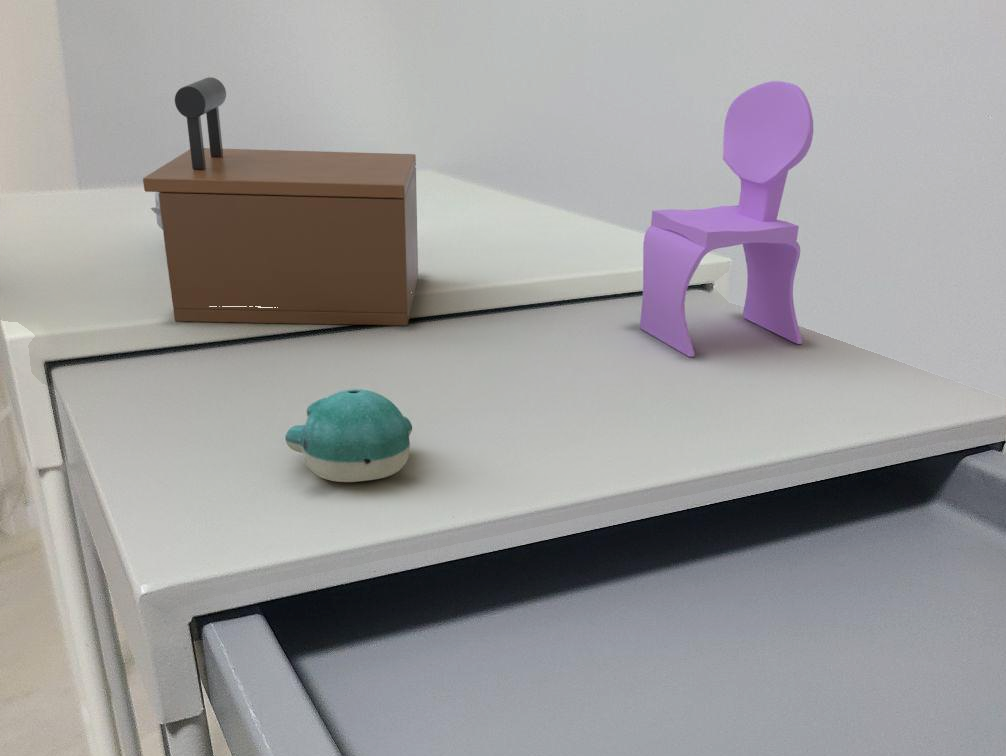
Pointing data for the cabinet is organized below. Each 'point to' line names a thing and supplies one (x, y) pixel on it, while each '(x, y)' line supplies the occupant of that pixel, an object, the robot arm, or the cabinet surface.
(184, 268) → the brown open rectangular box
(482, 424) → the cabinet surface
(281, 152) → the lid
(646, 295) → the toy chair
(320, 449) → the whale figurine
